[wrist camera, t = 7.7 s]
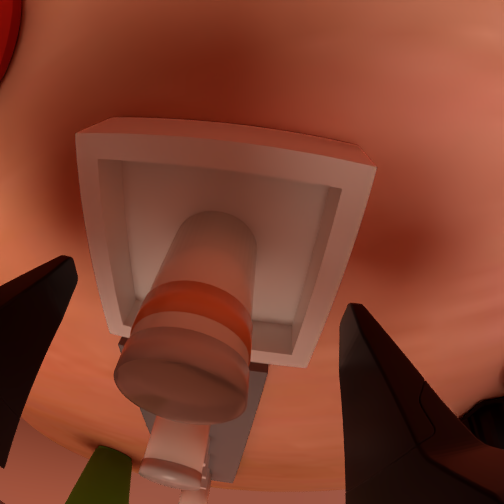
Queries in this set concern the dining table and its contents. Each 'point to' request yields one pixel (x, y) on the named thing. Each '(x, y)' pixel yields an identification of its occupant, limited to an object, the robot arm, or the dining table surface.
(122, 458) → the cup
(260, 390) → the fuse block
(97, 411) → the dining table surface
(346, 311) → the robot arm
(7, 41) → the canned food
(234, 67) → the dining table surface
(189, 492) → the cylinder
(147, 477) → the cylinder
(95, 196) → the tray
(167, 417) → the cylinder
